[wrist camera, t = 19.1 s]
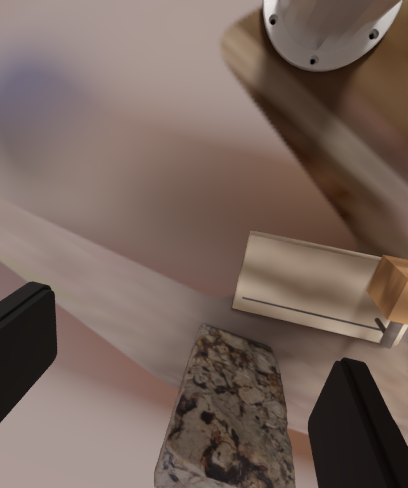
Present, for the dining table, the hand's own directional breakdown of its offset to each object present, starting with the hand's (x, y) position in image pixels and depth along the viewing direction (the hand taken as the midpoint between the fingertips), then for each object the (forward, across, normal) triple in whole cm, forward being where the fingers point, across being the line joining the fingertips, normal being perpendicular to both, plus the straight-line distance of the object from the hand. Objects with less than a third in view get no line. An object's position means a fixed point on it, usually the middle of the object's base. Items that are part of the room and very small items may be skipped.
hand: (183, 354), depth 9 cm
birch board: (+28, -14, +10) cm, 33 cm away
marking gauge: (+26, -21, +8) cm, 34 cm away
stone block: (+28, -5, +24) cm, 37 cm away
